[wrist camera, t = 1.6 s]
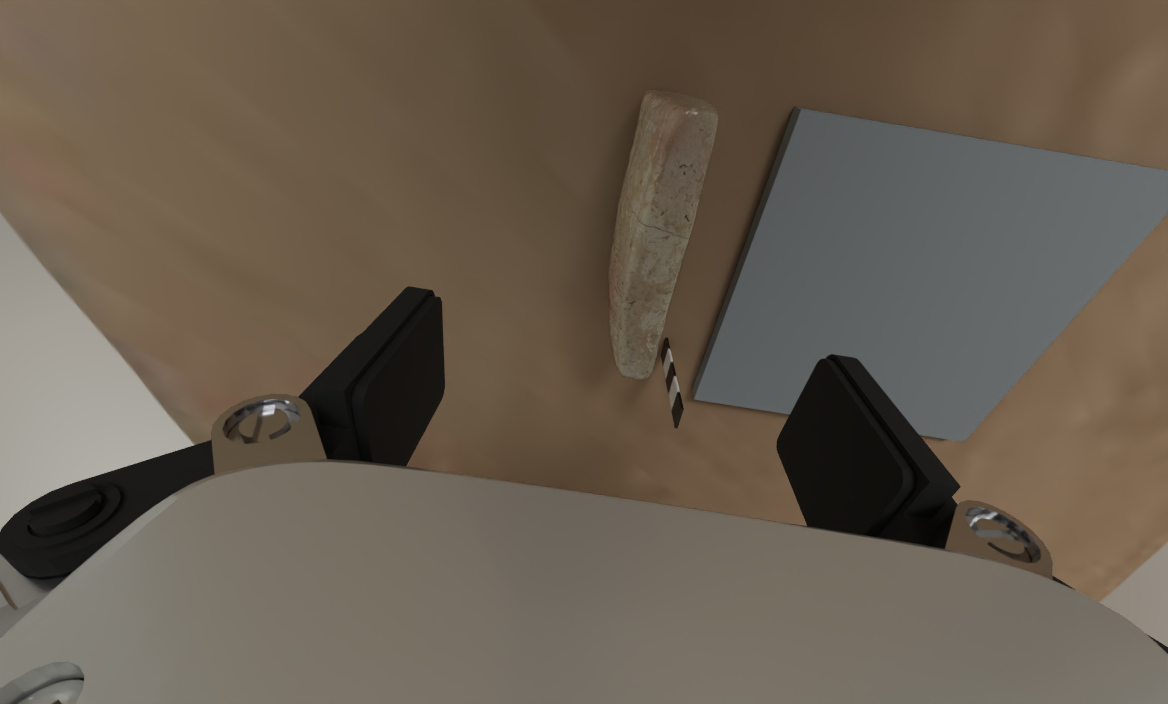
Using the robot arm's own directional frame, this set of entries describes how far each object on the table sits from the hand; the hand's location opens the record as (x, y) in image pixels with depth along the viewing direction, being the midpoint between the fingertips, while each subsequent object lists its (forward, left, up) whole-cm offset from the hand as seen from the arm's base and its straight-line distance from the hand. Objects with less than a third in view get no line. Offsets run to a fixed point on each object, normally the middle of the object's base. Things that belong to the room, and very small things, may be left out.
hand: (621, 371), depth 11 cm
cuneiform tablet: (0, +2, -11) cm, 11 cm away
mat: (+1, +13, -11) cm, 17 cm away
